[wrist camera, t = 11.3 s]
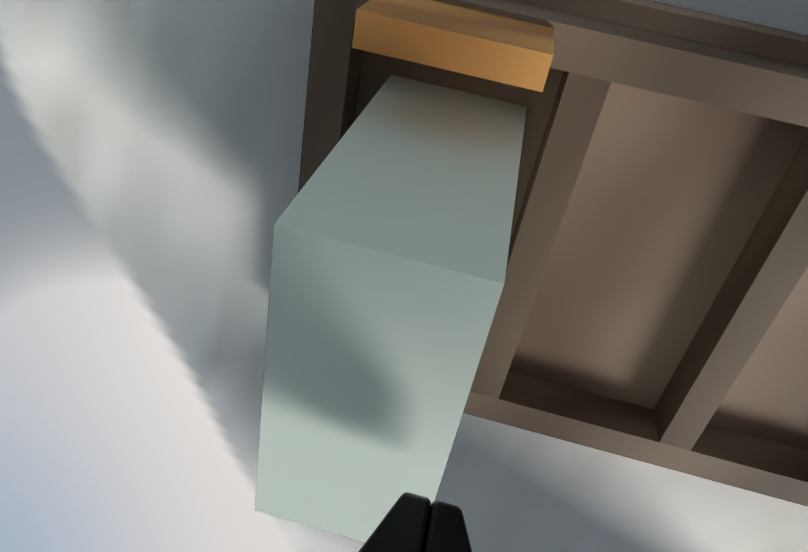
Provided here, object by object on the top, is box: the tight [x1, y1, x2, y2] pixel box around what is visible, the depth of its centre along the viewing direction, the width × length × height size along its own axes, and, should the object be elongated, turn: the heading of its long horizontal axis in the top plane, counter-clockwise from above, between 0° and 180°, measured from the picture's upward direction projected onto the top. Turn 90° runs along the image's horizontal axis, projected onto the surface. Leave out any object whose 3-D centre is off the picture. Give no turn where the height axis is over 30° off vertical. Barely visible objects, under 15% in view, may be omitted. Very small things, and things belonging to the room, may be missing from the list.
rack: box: [298, 0, 808, 506], centre depth 14 cm, size 16×11×4 cm, turn 80°
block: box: [255, 74, 527, 542], centre depth 13 cm, size 3×6×7 cm, turn 170°
